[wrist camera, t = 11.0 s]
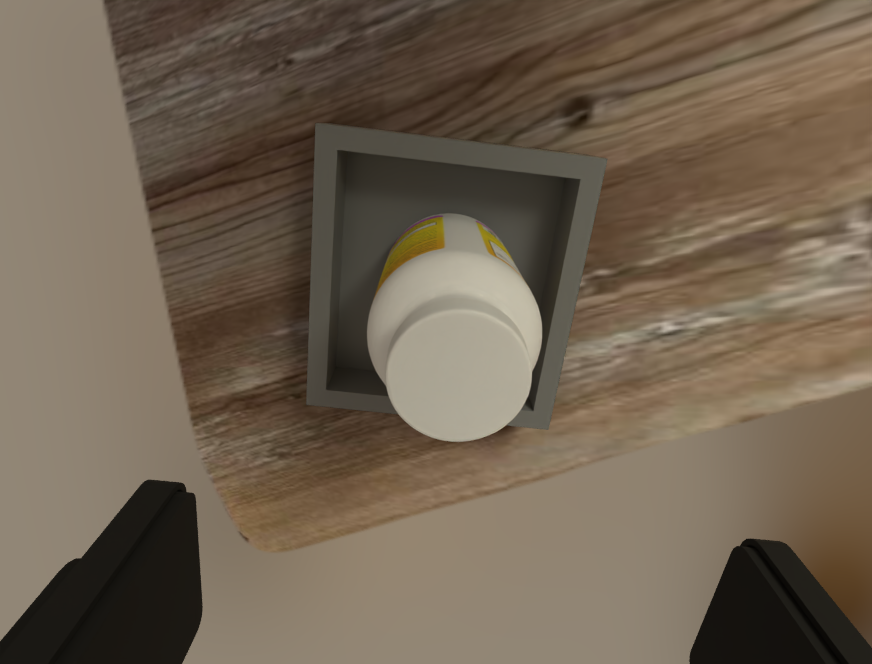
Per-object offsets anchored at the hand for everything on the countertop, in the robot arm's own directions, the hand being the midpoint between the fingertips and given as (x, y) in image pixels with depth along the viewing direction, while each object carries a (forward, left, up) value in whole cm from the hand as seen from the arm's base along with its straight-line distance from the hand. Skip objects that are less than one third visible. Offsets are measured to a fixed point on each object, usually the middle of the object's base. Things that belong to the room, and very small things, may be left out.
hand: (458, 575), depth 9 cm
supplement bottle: (0, 0, -21) cm, 21 cm away
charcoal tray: (0, 0, -22) cm, 21 cm away
